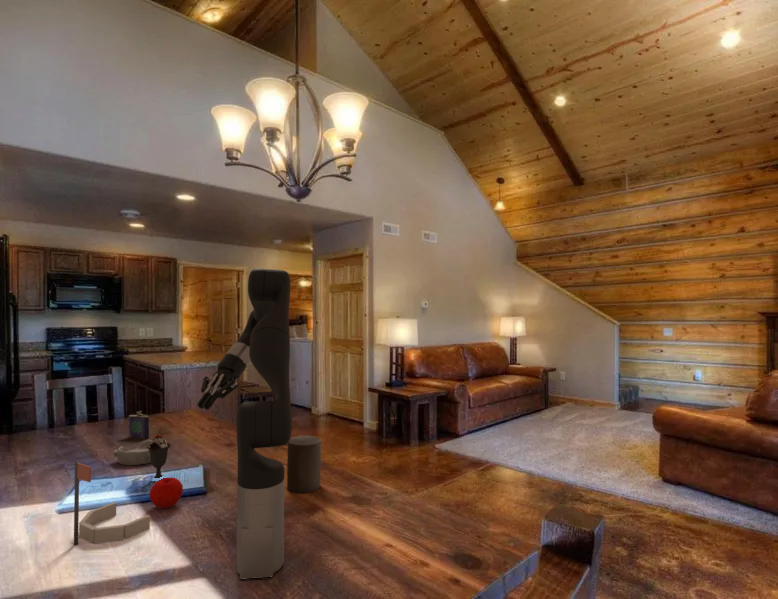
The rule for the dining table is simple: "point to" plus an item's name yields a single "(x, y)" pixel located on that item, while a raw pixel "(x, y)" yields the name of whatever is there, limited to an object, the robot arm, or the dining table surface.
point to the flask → (138, 426)
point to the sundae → (158, 453)
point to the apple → (166, 492)
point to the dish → (134, 454)
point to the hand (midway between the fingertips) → (202, 407)
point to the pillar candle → (303, 464)
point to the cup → (101, 517)
